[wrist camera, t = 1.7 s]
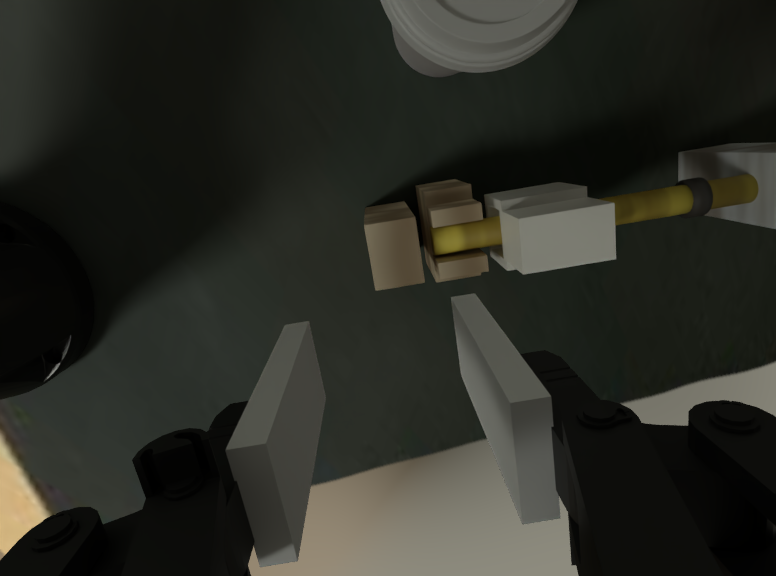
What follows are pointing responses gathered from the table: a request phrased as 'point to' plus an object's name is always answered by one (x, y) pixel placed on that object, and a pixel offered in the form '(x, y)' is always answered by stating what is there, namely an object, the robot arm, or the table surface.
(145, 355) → the table surface
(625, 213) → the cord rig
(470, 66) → the coffee cup
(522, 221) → the grey stepped block
